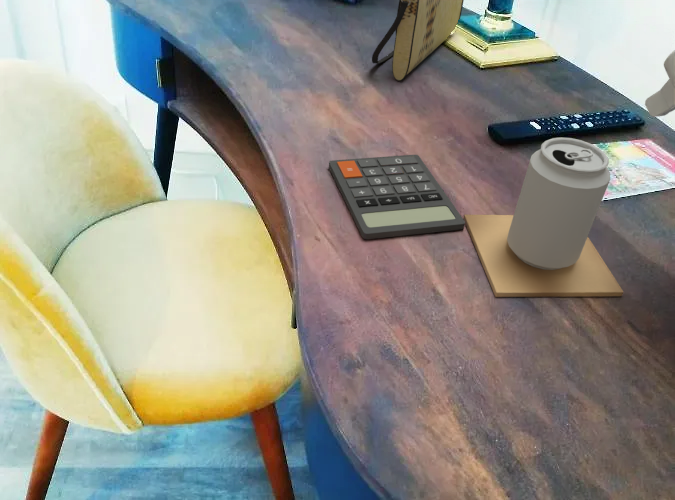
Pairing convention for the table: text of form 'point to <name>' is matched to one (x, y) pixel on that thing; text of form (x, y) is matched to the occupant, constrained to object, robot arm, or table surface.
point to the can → (558, 203)
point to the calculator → (394, 196)
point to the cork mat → (529, 281)
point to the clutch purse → (418, 32)
